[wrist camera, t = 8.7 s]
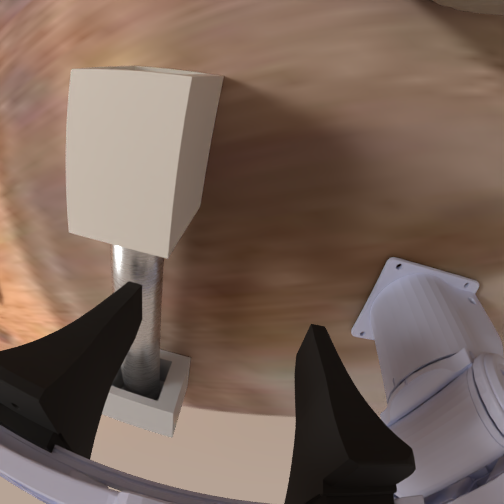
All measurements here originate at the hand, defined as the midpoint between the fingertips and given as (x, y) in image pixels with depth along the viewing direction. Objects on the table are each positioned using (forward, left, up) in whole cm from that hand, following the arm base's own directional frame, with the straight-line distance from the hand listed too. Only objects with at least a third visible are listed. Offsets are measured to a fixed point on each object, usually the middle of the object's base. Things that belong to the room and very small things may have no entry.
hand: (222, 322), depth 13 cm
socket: (+7, +19, -10) cm, 23 cm away
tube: (+7, +8, -9) cm, 14 cm away
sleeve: (+7, -4, -10) cm, 13 cm away
